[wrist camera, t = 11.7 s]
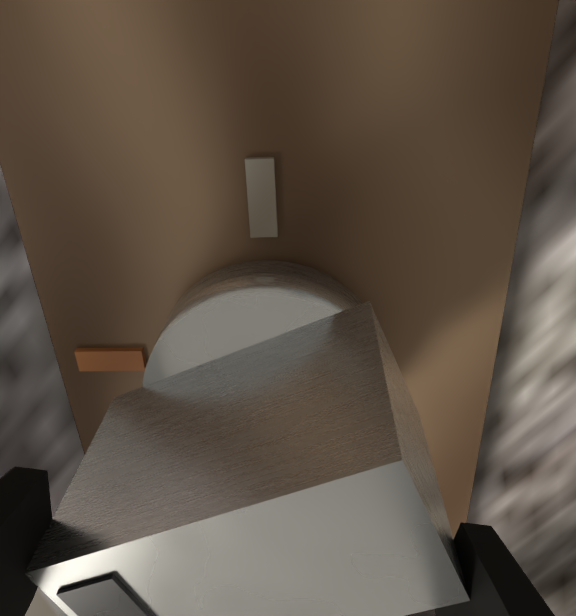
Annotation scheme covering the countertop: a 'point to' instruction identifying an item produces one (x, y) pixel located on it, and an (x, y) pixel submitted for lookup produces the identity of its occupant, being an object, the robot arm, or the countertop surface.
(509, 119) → the lock board
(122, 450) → the cap
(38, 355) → the countertop surface
